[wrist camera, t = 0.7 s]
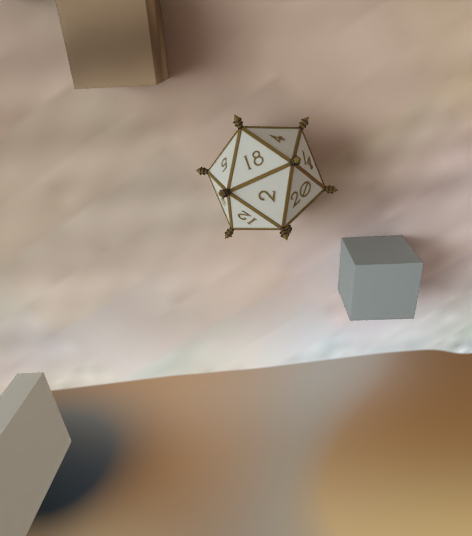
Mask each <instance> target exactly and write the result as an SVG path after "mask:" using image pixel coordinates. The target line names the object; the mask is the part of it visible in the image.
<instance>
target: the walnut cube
mask: <svg viewBox="0 0 472 536" xmlns="http://www.w3.org/2000/svg"><path fill="white" fill-rule="evenodd" d="M56 5H57V10H58V14H59V19H60V23H61V28H62V33H63V37H64V42H65V46H66V51H67V55H68V60H69V65H70V69H71V74H72V78H73V83H74V88H75V89H88V88H106V87H123V86H141V85H157V84H158V83H160V82H162V81H164V80H166V79H168V78H169V76H168V67H167V59H166V50H165V42H164V33H163V25H162V16H161V8H160V0H56Z"/></svg>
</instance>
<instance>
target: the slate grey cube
mask: <svg viewBox="0 0 472 536" xmlns="http://www.w3.org/2000/svg"><path fill="white" fill-rule="evenodd" d="M423 265H424V262H423V261H422V260H421V259H420V257H419V256H418V255H417V254H416V252H415V251H414V250H413V249H412V247H411V246H410V245H409V244H408V243H407V241H406V240H405V239H404V238H403V236H402V235H399V236H375V237H351V238H342V240H341V253H340V267H339V281H338V290H339V293H340V295H341V298H342V301H343V303H344V306H345V308H346V311H347V314H348V316H349V319H350V321H354V320H383V319H413V318H414V315H415V309H416V304H417V298H418V292H419V287H420V281H421V276H422V270H423Z"/></svg>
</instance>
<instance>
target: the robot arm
mask: <svg viewBox="0 0 472 536" xmlns="http://www.w3.org/2000/svg"><path fill="white" fill-rule="evenodd" d="M70 443H71V439H70V437H69V434H68V432H67V429H66V427H65V425H64V422H63V420H62V417H61V415H60V412H59V410H58V407H57V405H56V402H55V400H54V397H53V395H52V393H51V390H50V388H49V385H48V383H47V380H46V378H45V375H44V373H43V372H39V373H21V374H17V375H16V376H15V378H14V379H13V380H12V382H11V383H10V384H9V386H8V387H7V388H6V390H5V391H4V392H3V394H2V395H1V396H0V536H26V534H27V532H28V530H29V528H30V526H31V523H32V521H33V520H34V517H35V515H36V513H37V511H38V509H39V507H40V505H41V503H42V501H43V499H44V497H45V495H46V492H47V491H48V489H49V487H50V484H51V482H52V480H53V478H54V476H55V474H56V472H57V470H58V468H59V466H60V463H61V462H62V460H63V458H64V456H65V454H66V451H67V449H68V447H69V445H70Z"/></svg>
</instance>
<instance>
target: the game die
mask: <svg viewBox="0 0 472 536" xmlns="http://www.w3.org/2000/svg"><path fill="white" fill-rule="evenodd" d="M241 119H242V118H240V117H238V116H236V115H235V116H234V122H233V123H235V126H237V127H238V130H237V131H236V133H235V134H234V135H233V137H232V138H231V139H230V141H229V142H228V144H227V145H226V146H225V148H224V149H223V150H222V152H221V153H220V155H219V156H218V157H217V159H216V160H215V162H214V163H213V164H212V166H211V167H210V168H209V169H206V168H205V167H204V168H202V167H201V168H199V169H197V170H196V171H197V172H198V173H200V175H202V174H203V175H205V174H208V176H209V178H210V181H211V183H212V185H213V188H214V190H215V192H216V195H217V197H218V199H219V202H220V204H221V206H222V209H223V211H224V213H225V216H226V218H227V220H228V223H229V225H230V228H229V229H227V231H226V232H225V239H226V238H228V237H232V236H231V235H232V234H233V231H234V230H281V232H280V234H281V237H283V238H285V239H286V240H287V239H288V236H289V233H291V230H292V227H291V225H289V224H290V223H291V222H292V221H294V220H295V219H296V218H297V217H298V216H299V215H300V214H301V213H302V212H303V211H304V210H305V209H306V208H307V207H308V206H309V205H310V204H311V203H312V202H313V201H314V200H315V199H316V198H317V197H318V196H319V195H320V194H321V193H323V192H324V191H326V192H328V193H331V194H332V193H333V192H336V191H338V190H337V189H336V188H335V187H333V186H330V185H329V186H325V185H324V183H323V180H322V178H321V175H320V173H319V170H318V168H317V165H316V163H315V160H314V158H313V155H312V153H311V150H310V148H309V145H308V143H307V140H306V138H305V135H304V133H303V129H304V128H306V125H308V119H309V117H307V118H304V119H301V120H302V121H301V122H300V125H299V127H261V126H243V124H242V123H243V122H242V121H241Z"/></svg>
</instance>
